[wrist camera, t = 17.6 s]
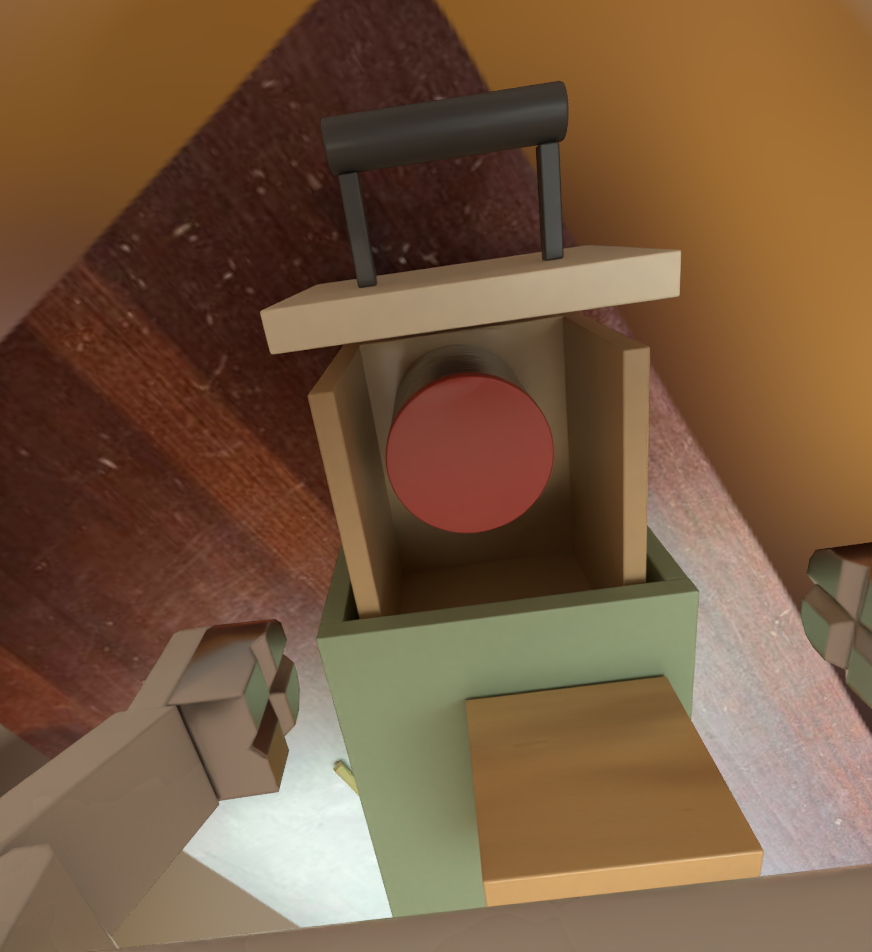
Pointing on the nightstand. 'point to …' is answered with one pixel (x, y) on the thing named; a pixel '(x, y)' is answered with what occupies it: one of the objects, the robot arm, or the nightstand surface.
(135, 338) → the nightstand surface
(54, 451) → the nightstand surface
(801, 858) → the nightstand surface
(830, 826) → the nightstand surface
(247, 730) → the robot arm
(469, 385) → the tin
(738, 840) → the riser
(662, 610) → the cabinet
